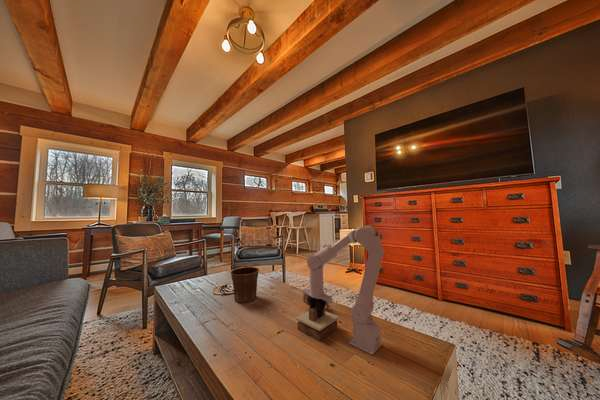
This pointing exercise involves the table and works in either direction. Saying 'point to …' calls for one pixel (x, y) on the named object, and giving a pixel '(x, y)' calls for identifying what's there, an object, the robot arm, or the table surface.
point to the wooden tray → (315, 333)
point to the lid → (317, 319)
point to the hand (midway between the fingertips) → (317, 315)
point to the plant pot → (244, 284)
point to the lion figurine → (308, 303)
